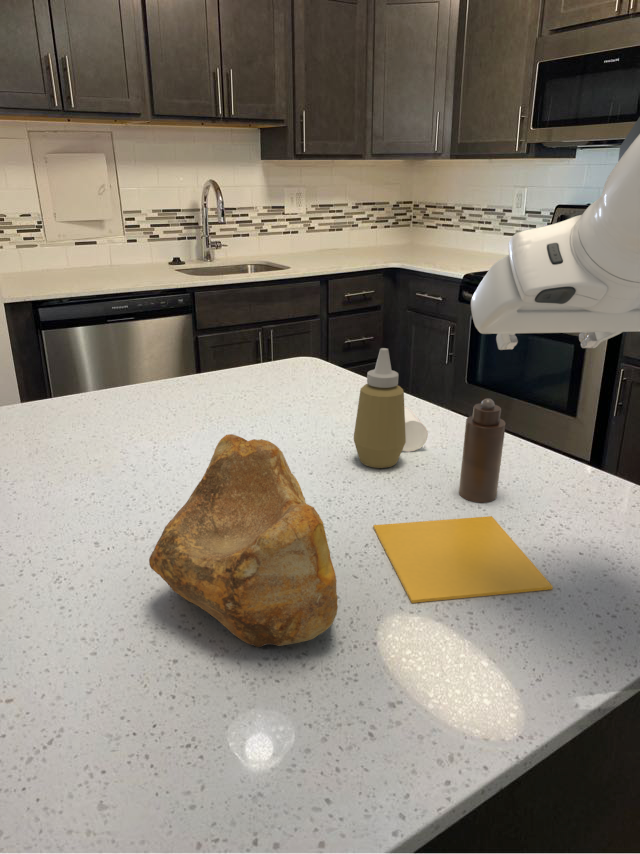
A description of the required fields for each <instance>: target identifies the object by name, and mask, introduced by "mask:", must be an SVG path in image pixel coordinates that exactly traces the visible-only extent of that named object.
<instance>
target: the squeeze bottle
mask: <svg viewBox="0 0 640 854" xmlns="http://www.w3.org/2000/svg"><path fill="white" fill-rule="evenodd" d="M374 367H375V368H374V369H371V370H368V371H367V374H366V383H365V384H364V385H363V386H362V387H360V389H359V396H358V397H359V398H358V404H357V410H356V417H355V425H354V431H353V443H354V446H355V449H356V452H357V456H358V458H359V462H360V463H361V464H362V465H364V466H366V467H369V468H375V469H385V468H391V467H393V466H395V465H397V463H398V461H399V459H400V457H401V455H402V452H403V451H402V450H403V447H404V445H405V443H406V435H405V410H404V406H405V392H404V388H403V387H401V386H400V385H399V372H397V371H395V370H392V365H391V359H390V351H389V348H386V347H381V348H379V352H378V356H377V359H376V363H375V366H374Z"/></svg>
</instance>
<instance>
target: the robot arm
mask: <svg viewBox="0 0 640 854" xmlns="http://www.w3.org/2000/svg"><path fill="white" fill-rule="evenodd" d="M507 245H508V246H507V247H508V255H505V256H503V257H501V258H500V259H498V260H497V261H496V262H494V263H493V265H492V266H491V267H490V268H489V270H488V271H487V272H486V274H485V275H484V276H483V278H482V280H481V281H480V282H479V284H478V286H477V287H476V289H475V291H474V293H473V295H472V297H471V299H470V311H471V317H472V320H473V324H474V327H475V329H476V330H477V332H479V333H480V334H482V335H492V334H493V335H494V334H495V335H496V337H495V341H496V345H497V349H498V350H500V351H503V350H504V351H505V350H513V349H514V348H515V347H516V346H517V345H518V343H519V339H518V337H517V336H516V334H561V333H563V334H565V333H566V334H567V333H568V334H569V333H570V334H571V333H579V334H578V340H579V342H580V347H581V348H582V349H596V348H597V347H598V346H599V345H600V344H601V343H603V342H605V341H606V340H609V339H611V338H614V337H616V336H618V335H620V334H622V333H627V332H628V333H629V332H630V333H631V332H633V333H634V332H636V333H637V332H640V116H639V117H638V118H637V120H636V122H635V123H634V125H633V126H632V128H631V129H630V131H629V132H628V134H627V135H626V136H625V138H624V140H623V141H622V143H621V144H620V146H619V151H618V160H617V163H616V165H615V166H614V167H613V169H612V170H611V172H610V173H609V175H608V176H607V178H606V181H605V183H604V185H603V190H602V193H601V195H600V197H598V198H597V199H596V200H595V201H593V202H592V203H591V204H590V205H589V206H588V207H586V209H585V210H584V211H583V213H582V214H579V215H576V216H572V217H569V218H567V219H565V220H562V221H558V222H556V223H552V224H548V225H543V226H540V227H535V228H530V229H525V230H522V231H518V232H515V234H513V235H512V236H511V237H510V239H509V241H508V244H507Z"/></svg>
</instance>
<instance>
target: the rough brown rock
mask: <svg viewBox="0 0 640 854" xmlns="http://www.w3.org/2000/svg"><path fill="white" fill-rule="evenodd" d="M148 562H149V564H148V565H149V567H150V569H151V570H152V571H153V572H155V573H156V574H157V575H159V576H160V578H161V579H162V581H164V582H165V583H166V584H167V585H168V586H169V587H170V589H171V590H172V591H173V592H174V593H176V594H177V595H179V596H180V597H182V598H183V599H184V600H186V601H188V602H189V603H191V604H193V605H195V606H197V607H199V608H200V609H201V610H203V611H204V612H206V613H207V614H209V615H210V616H211V617H213V618H214V619H215V620H216V621H218V622H219V623H220V624H221V625H222V626H223V627H225V628H226V629H227V630H228V631H229V632H230V633H231V634H232V635H234V636H235V637H236V638H238V639H239V640H241V641H242V642H244V643H246V644H248V645H250V646H254V647H256V648H260V647H263V646H265V645H273V646H277V647H282V646H288V645H294V644H299V643H303V642H307V641H312V640H313V639H315V638H316V637H318V636H319V635H321V634H323V633H325V632H326V631H327V630H328V629H330V627H331V626H332V625H333V623H334V621H335V619H336V617H337V614H338V601H339V600H338V599H339V598H338V593H337V576H336V572H335V567H334V565H333V564H334V563H333V561H332V558H331V551H330V547H329V543H328V539H327V535H326V530H325V525H324V521H323V520H322V518H321V516H320V515H319V514H318V511H317V510H316V508H315V507H314V506H312V505H310V504H308V503H307V502H306V498H305V496H304V493H303V490H302V487H301V485H300V482H299V481H298V479H297V478H296V476H295V475H294V473H292V471H291V469H290V466H289V464H288V462H287V460H286V458H285V455H284V453H283V451H282V450H281V449H280V448H279V446H278V445H276V444H275V443H273V442H272V441H270V440H265V439H263V438H262V439H250V440H247V439H246V438H243V437H241V436H239V435H236V434H234V433H233V434H232V433H231V434H230V433H229V434H226V435H224V436H223V437H222V438H220V440H219V441H218V443H217V444H216V447H215V448H214V451H213V454H212V457H211V459H210V461H209V464H208V466H207V468H206V470H205V472H204V474H203V476H202V478H201V479H200V481H199V482H198V483H197V485H196V486H195V488H194V490H193V491H192V492H191V494H190V496H189V498H188V499H187V501H186V502H185V503H184V505H183V506H182V507H181V508H180V509H179V510H177V512H176V514H175V515H174V516H173V517H172V518H171V520H170V521H169V522H167V524H166V525H165V527H164V528H163V531H162V533H161V535H160V537H159V538H158V540H157V542H156V544H155V546H154V547H153V550H152V552H151V554H150V556H149V559H148Z"/></svg>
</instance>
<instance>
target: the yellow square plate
mask: <svg viewBox="0 0 640 854" xmlns="http://www.w3.org/2000/svg"><path fill="white" fill-rule="evenodd" d="M372 528H373V530H374V532H375V534H376V536H377V538H378V540H379V543H380V544H381V546H382V548H383V550H384V552H385V554H386V556H387V558H388V560H389V561H390V563H391V566H392V567H393V568H392V569H394V572H395V573H396V576H397V578H398V580H399V581H400V583H401V586H402V587H403V589H404V591H405V593H406V595H407V598H408V599H409V602H410V603H411V604H417V603H428V602H437V601H447V600H457V599H468V598H479V597H488V596H498V595H509V594H520V593H529V592H539V591H549V590H550V591H551V590H553V584H551V583H550V581H549V580H548V579H547V578H546V577H545V575H543V574H542V572H541V571H540V570H539V569H538V568H537V566H536V565H535V564H534V563H533V562H532V561H531V560H530V558H529V557H528V556H527V555H526V554H525V553H524V552H523V550H522V549H521V548H520V547H519V546H518V545H517V543H516V542H515V541H514V540H513V539H512V537H511V536H510V535H509V534H508V532H506V531H505V529H504V528H503V527H502V526H501V525H500V523H499V522H497V520H496V519H495V518H494V517H493V516H492V515H487V516H475V517H462V518H449V519H438V520H437V519H436V520H423V521H422V520H421V521H411V522H400V523H399V522H397V523H384V524H373V526H372Z"/></svg>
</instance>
